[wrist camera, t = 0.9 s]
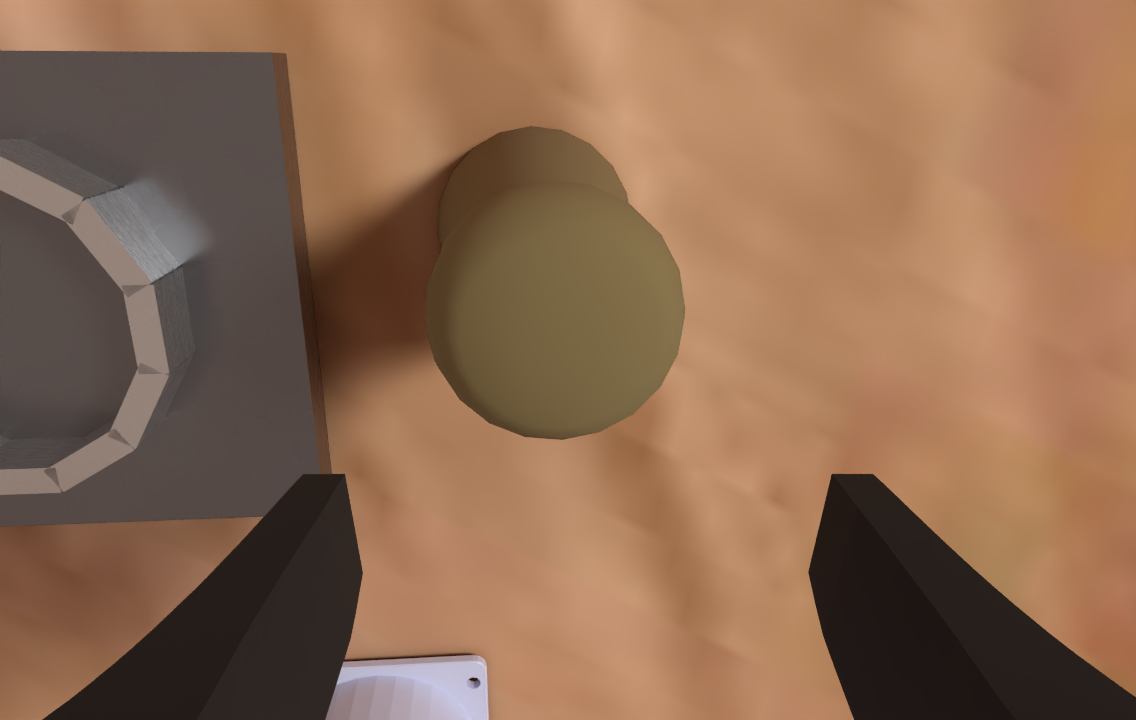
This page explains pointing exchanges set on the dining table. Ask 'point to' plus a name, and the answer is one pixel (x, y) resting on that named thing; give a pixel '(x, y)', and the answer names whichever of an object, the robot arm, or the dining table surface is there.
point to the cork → (549, 289)
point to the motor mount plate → (152, 289)
